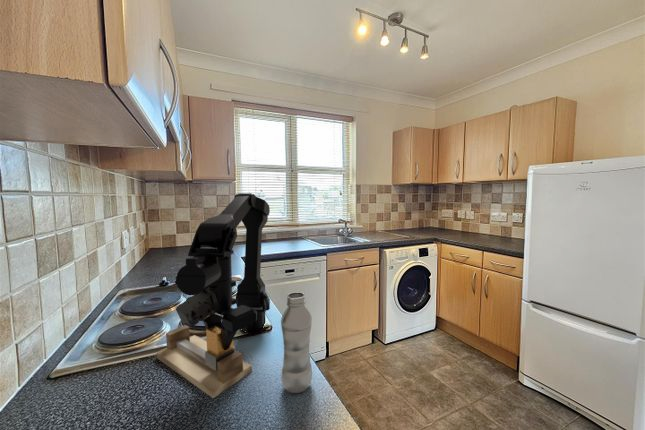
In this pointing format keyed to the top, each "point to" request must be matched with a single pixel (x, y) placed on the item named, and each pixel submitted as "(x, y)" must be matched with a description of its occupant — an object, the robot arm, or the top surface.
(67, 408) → the top surface
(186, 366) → the rail board
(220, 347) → the slider block
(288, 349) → the plastic bottle
